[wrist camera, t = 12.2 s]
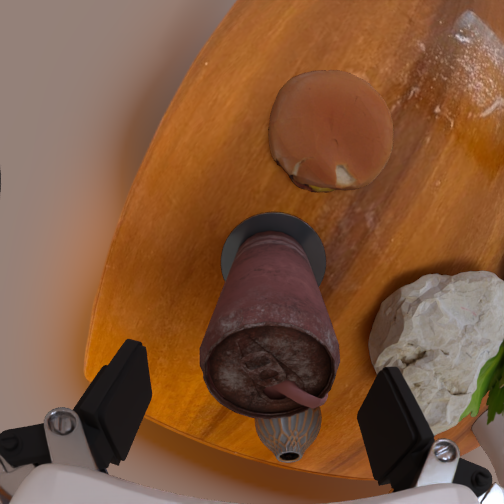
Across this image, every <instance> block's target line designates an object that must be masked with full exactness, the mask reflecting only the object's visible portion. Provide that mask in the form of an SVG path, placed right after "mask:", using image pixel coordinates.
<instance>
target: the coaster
mask: <svg viewBox="0 0 504 504" xmlns="http://www.w3.org/2000/svg"><path fill="white" fill-rule="evenodd" d="M266 231H276V232H282V233H284V234H287V235H289V236H291V237H293V238H294V239H295V240H296V241H297V242H298V243H299V244H300V245H301V246H302V248H303V250H304V252H305V253H306V256H307V258H308V261H309V263H310V266H311V269H312V271H313V274H314V276H315V279H316V282H317V285H318V287H319V286H320V284H321V282H322V280H323V277H324V274H325V269H326V255H325V250H324V246H323V244H322V242H321V240H320V238H319V236H318V235H317V233H316V232H315V231H314V230H313V228H312V227H311V226H310V225H308V224H307V223H306V222H305V221H303V220H302V219H300V218H298V217H296V216H293V215H291V214H287V213H282V212H265V213H260V214H257V215H254V216H251V217H249V218H247V219H246V220H244V221H243V222H241V223H240V224H239V225H238V226H237V227H235V229H234V230H233V231H232V232H231V233H230V235H229V236H228V238H227V240H226V242H225V244H224V247H223V250H222V255H221V270H222V275H223V278H224V280H225V282H226V279H227V276H228V274H229V271H230V269H231V266H232V264H233V261H234V259H235V256H236V254H237V252H238V249H239V247H240V246H241V245H242V244H243V243H244V242H245V241H246V240H247V239H248V238H250V237H252V236H253V235H255V234H257V233H261V232H266Z"/></svg>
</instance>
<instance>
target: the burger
mask: <svg viewBox="0 0 504 504" xmlns="http://www.w3.org/2000/svg"><path fill="white" fill-rule="evenodd" d="M268 130H269V145H270V149H271V153H272V157H273V159H274V161H276V163H277V165H279V166H282V167H283V169H284V170H285V171H286V172H287V173H288V174H289V177H290V178H291V179H292V182H293V183H294V184H295V185H296V186H298V187H299V188H302V189H307V190H309V191H311V192H331V191H333V190H354V189H359V188H362V187H365V186H367V185H368V184H369V183H371V182H372V181H373V180H374V179H375V178H376V177H377V176H378V175H379V173H380V172H381V171H382V170H383V168H384V167H385V165H386V163H387V161H388V159H389V157H390V154H391V151H392V148H393V134H394V129H393V122H392V116H391V114H390V111H389V109H388V107H387V104H386V102H385V101H384V100H383V98H382V97H381V96H380V94H379V93H378V92H377V91H376V90H375V89H374V88H373V87H372V86H371V85H370V84H369V83H367V82H366V81H364V80H363V79H361V78H359V77H357V76H355V75H353V74H351V73H348V72H343V71H339V70H328V71H326V70H319V71H311V72H307V73H303V74H300V75H298V76H295V77H293V78H291V79H290V80H289V81H288V82H287V83H286V84H285V85H284V86H283V87H282V88H281V89H280V91H279V93H278V95H277V97H276V100H275V103H274V105H273V108H272V111H271V115H270V123H269V129H268Z"/></svg>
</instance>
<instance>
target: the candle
mask: <svg viewBox="0 0 504 504" xmlns="http://www.w3.org/2000/svg"><path fill="white" fill-rule="evenodd" d="M487 413H488V410H487V411H486V412H484V413H483V414H482V415H481V416H480V417H479V418H478V419H477V420H476V422H475V423H474V424H473V426H472V431H473V433H474V435H475V437H476V438H477V440H478V442H479V444H480V445H481V447H482V448H483V450H484V451H485V453H486V454H487V455H488V457H489V459H490V461H491V463H492V465H493V467H494V469H495V472H496V475H497V478H498V481H499V484H500V486H501V487H502V488H503V489H504V413H503V416H502V413H501V414H499V415H498V414H497V412H496V415H495V418H494V421H491V422H490V423H489V424H488V425H487V419H488V417H487Z"/></svg>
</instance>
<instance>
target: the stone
mask: <svg viewBox="0 0 504 504" xmlns="http://www.w3.org/2000/svg"><path fill="white" fill-rule="evenodd" d="M503 339H504V281H503V280H501V279H500V278H498V277H497V275H496V274H494V273H492V272H488V271H469V272H461V273H459V274H457V275H454V276H449V275H439V274H433V275H432V274H428V275H425V276H422V277H421V278H419V279H418V280H417V281H415V282H414V283H411V284H409V285H405V286H403V287H401V288H399V289H398V290H396V291H395V292H394V293H392V294H391V295H390V296H389V297H388V298H386V299H385V300H384V301H383V302H382V303H381V306H380V310H379V312H378V313H377V315H376V318H375V321H374V323H373V326H372V330H371V332H370V337H369V343H368V346H369V353H370V358H371V362H372V364H373V365H374V369H375V371H376V373H377V374H378V372H379V371H380V370H382V369H383V368H384V367H395V366H396V367H398V368H399V370H400V371H401V373H402V375H403V377H404V379H405V380H406V382H407V384H408V386H409V388H410V390H411V391H412V393H413V395H414V397H415V399H416V401H417V403H418V405H419V407H420V408H421V410H422V412H423V414H424V416H425V418H426V420H427V422H428V424H429V426H430V428H431V430H432V432H433V434H434V436H435V435H436V434H438V433H441V432H443V431H446V430H448V429H450V428H451V427H453V426H455V425H457V423H458V421H459V419H460V416H461V414H462V413H463V412H464V410H465V409H466V408H467V406H468V405H469V403H470V401H471V398H472V394H473V393H474V392H475V390H476V389H477V379H478V376H479V373H480V369H481V368H482V367H483V366H484V364H485V363H486V361H487V360H488V359H490V358H492V357H494V356H496V354H497V353H498V351H499V347H500V345H501V343H502V342H503Z"/></svg>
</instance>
